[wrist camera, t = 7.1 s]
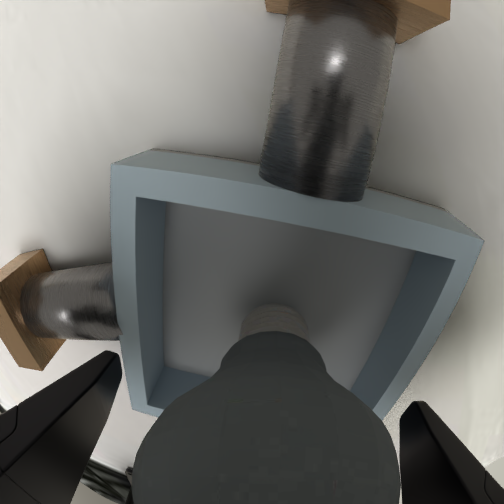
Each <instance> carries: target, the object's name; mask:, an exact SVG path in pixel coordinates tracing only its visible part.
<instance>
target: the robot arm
mask: <svg viewBox="0 0 504 504" xmlns="http://www.w3.org/2000/svg"><path fill="white" fill-rule="evenodd" d="M121 378H122V367H121V362H120V357H119V355H118V354H117V353H114V352H111V351H104V352H102V353H100V354H99V355H97V356H96V357H94V358H92V359H91V360H89V361H88V362H86V363H84V364H83V365H81V366H79V367H78V368H76V369H75V370H73V371H71V372H70V373H68V374H67V375H65V376H63V377H62V378H60V379H58V380H57V381H55V382H54V383H52V384H50V385H49V386H47V387H45V388H44V389H42V390H41V391H39V392H37V393H36V394H34V395H32V396H31V397H29V398H28V399H26V400H24V401H23V402H21V403H19V404H18V406H17V405H16V406H14V407H13V408H11V409H9V410H8V411H6V412H4V413H2V414H1V415H0V504H70V503H71V501H72V498H73V496H74V493H75V491H76V488H77V486H78V484H79V482H80V479H81V477H82V475H83V472H84V470H85V468H86V466H87V463H88V461H89V459H90V457H91V454H92V452H93V450H94V448H95V446H96V443H97V441H98V439H99V437H100V435H101V433H102V430H103V428H104V426H105V424H106V422H107V419H108V417H109V414H110V411H111V408H112V405H113V402H114V399H115V396H116V393H117V390H118V387H119V384H120V381H121ZM399 424H400V455H399V456H400V475H401V489H402V504H504V489H503V488H502V487H501V486H500V485H499V484H498V483H497V481H495V480H494V478H493V477H492V476H491V475H490V474H489V473H488V471H485V468H484V467H483V466H482V465H481V463H480V462H479V461H478V460H477V459H476V458H475V457H474V455H473V454H472V453H471V452H470V451H469V450H468V449H467V447H466V446H465V445H464V444H463V443H462V442H461V441H460V440H459V438H458V437H457V436H456V435H455V434H454V433H453V432H452V431H451V430H450V428H449V427H448V426H447V425H446V424H445V423H444V422H443V421H442V420H441V418H440V417H439V416H438V415H437V414H436V413H435V412H434V411H433V410H432V409H431V407H430V406H429V405H428V404H427V403H426V402H424V401H413V402H412V403H411V404H410V405H409V407H408V408H407V409H406V410H405V412H404V413H403V414H402V416H401V418H400V423H399ZM132 471H133V470H132V469H128V468H127V469H126V471H125V473H126V475H127V477H128V479H129V481H130V484H131V488H130V491H129V494H128V497H127V500H126V503H125V504H134V501H133V495H132Z"/></svg>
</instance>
